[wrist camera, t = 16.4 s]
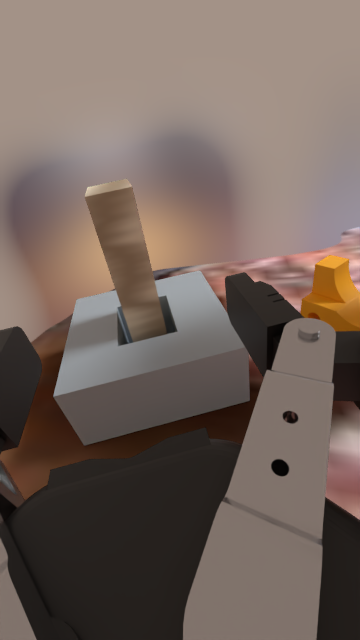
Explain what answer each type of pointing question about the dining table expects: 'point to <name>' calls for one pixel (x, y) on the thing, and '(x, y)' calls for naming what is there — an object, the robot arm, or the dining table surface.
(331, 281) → the pipe clamp
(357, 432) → the dining table surface
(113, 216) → the wooden bar
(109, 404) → the grey square socket block
